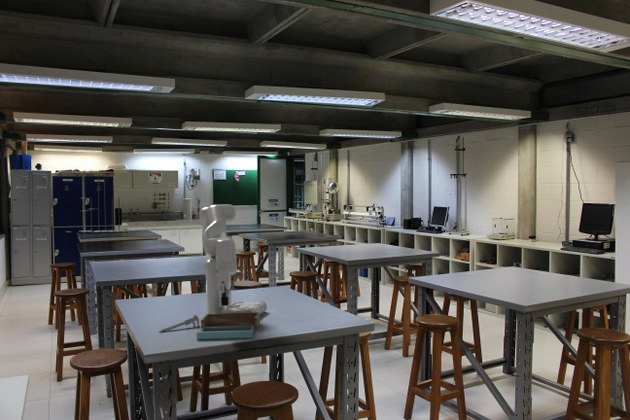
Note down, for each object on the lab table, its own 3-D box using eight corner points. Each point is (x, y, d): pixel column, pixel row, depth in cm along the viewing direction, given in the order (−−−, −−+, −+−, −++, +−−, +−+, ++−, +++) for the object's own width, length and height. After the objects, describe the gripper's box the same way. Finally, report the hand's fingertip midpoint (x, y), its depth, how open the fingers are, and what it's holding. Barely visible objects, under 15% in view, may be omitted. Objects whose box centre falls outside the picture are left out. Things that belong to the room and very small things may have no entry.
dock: (206, 325, 254) (206, 313, 254) (259, 323, 255) (259, 312, 254) (201, 331, 242) (200, 319, 242) (257, 330, 243) (256, 318, 242)
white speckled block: (221, 304, 237) (221, 291, 237) (231, 303, 237) (231, 291, 237) (220, 306, 233) (219, 293, 232) (229, 306, 233) (229, 293, 233)
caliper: (198, 325, 255) (198, 313, 255) (199, 326, 254) (198, 314, 254) (158, 332, 244) (158, 320, 244) (159, 333, 243) (158, 320, 243)
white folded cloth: (270, 310, 286) (269, 297, 285) (254, 322, 258) (253, 308, 258) (238, 310, 290) (237, 297, 290) (219, 322, 262) (218, 308, 262)
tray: (202, 332, 241) (202, 325, 241) (255, 330, 241) (255, 324, 241) (196, 339, 229) (196, 332, 229) (252, 337, 230) (252, 330, 229)
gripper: (219, 263, 243) (221, 300, 243) (213, 268, 226) (214, 308, 226) (235, 262, 243) (236, 300, 243) (229, 268, 226) (230, 307, 227)
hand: (225, 303), depth 235 cm, fingers closed on white speckled block, 4 cm apart
